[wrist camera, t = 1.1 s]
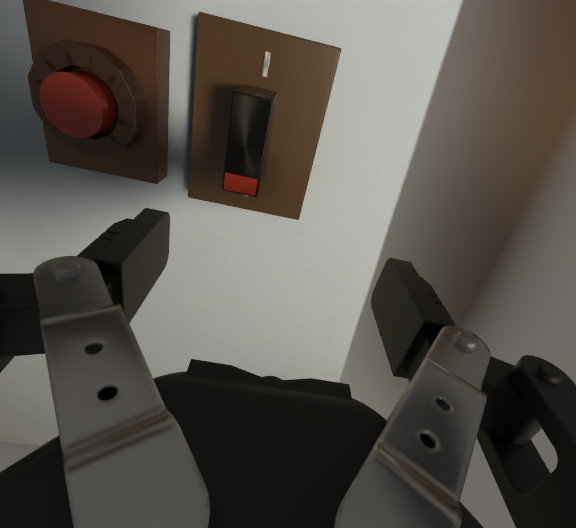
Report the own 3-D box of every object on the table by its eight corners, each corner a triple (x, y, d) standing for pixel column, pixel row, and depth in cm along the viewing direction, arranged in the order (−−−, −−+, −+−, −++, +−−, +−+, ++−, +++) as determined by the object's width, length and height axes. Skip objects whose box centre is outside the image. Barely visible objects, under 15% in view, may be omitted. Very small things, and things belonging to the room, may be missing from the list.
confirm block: (45, -1, 21) (-3, -13, 18) (170, 31, 22) (147, 24, 19) (66, 154, 26) (32, 168, 23) (167, 175, 27) (148, 192, 24)
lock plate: (205, 15, 22) (197, 10, 20) (338, 49, 22) (342, 48, 21) (194, 189, 28) (187, 198, 26) (298, 211, 29) (298, 221, 27)
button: (53, 64, 20) (33, 64, 19) (114, 78, 20) (99, 79, 19) (61, 126, 22) (44, 131, 20) (117, 138, 22) (104, 143, 21)
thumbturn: (246, 84, 22) (231, 90, 17) (278, 92, 22) (273, 100, 17) (235, 166, 25) (220, 191, 20) (264, 172, 25) (256, 199, 20)
